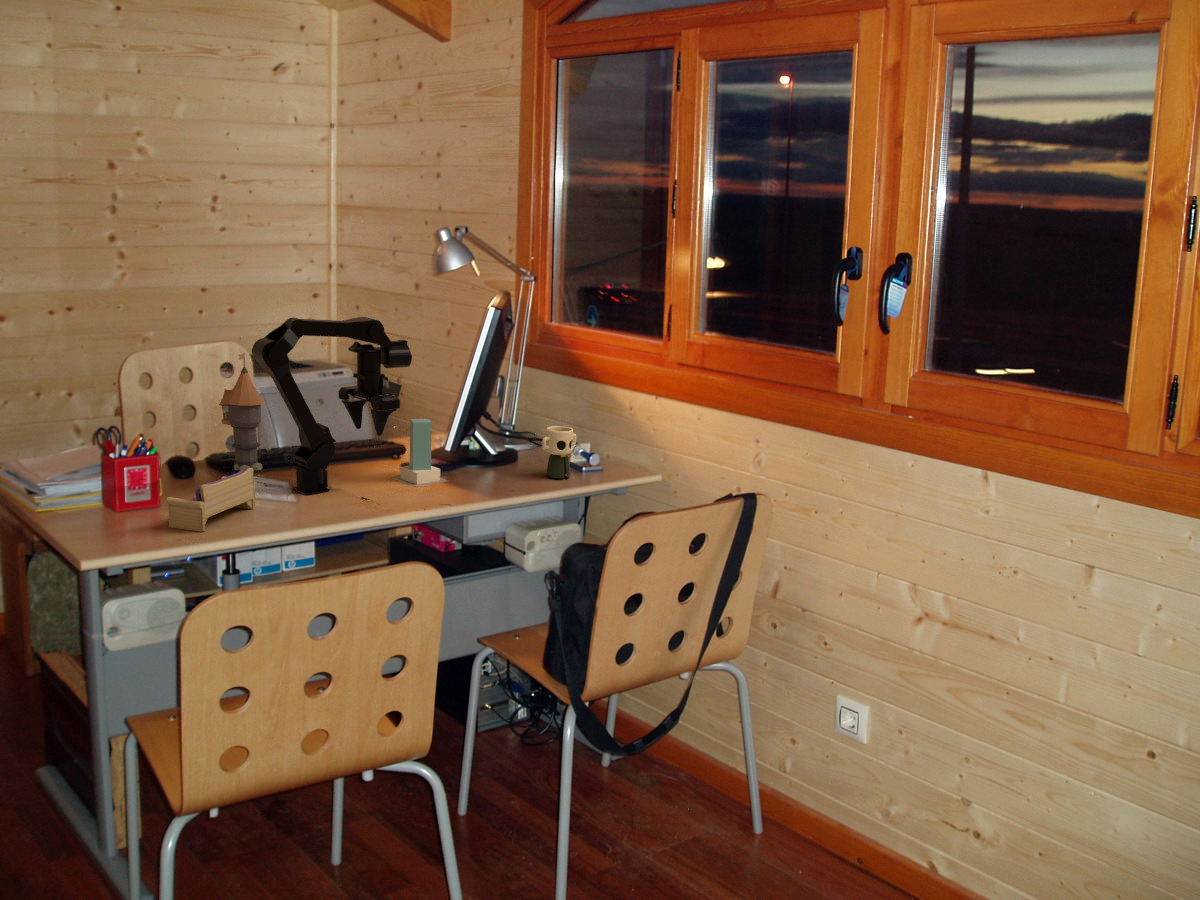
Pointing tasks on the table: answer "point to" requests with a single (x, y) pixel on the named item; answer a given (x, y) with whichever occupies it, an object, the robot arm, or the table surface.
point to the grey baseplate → (419, 484)
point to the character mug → (558, 449)
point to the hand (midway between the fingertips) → (369, 432)
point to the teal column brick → (420, 444)
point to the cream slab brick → (419, 475)
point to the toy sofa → (212, 500)
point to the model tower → (243, 419)
